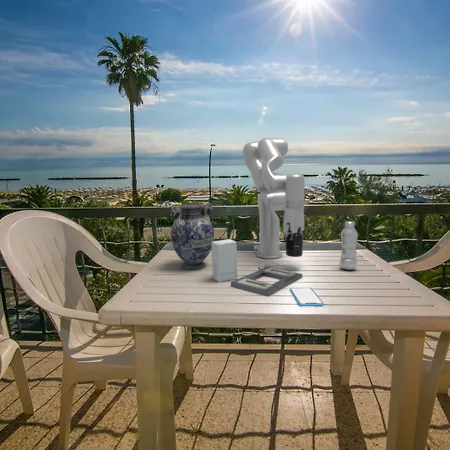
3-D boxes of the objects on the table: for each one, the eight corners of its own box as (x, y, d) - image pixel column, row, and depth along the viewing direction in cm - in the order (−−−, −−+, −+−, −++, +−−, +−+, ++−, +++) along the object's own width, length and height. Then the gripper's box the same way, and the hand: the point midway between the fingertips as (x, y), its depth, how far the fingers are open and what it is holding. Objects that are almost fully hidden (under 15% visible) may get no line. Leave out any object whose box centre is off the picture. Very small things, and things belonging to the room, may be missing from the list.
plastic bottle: (358, 272, 128) (360, 222, 125) (340, 271, 130) (342, 222, 127) (355, 267, 135) (357, 220, 132) (338, 266, 136) (340, 220, 133)
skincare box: (230, 275, 127) (230, 238, 125) (238, 279, 122) (237, 241, 120) (211, 278, 124) (210, 240, 122) (218, 282, 119) (217, 243, 116)
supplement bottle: (293, 258, 128) (293, 228, 126) (282, 254, 134) (282, 226, 132) (306, 255, 131) (306, 227, 129) (295, 252, 137) (295, 225, 135)
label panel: (230, 286, 115) (230, 281, 115) (267, 270, 133) (267, 266, 133) (268, 296, 105) (268, 291, 104) (302, 277, 123) (302, 273, 122)
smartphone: (310, 287, 111) (324, 303, 96) (310, 290, 111) (324, 307, 96) (289, 288, 111) (299, 304, 96) (289, 291, 111) (299, 308, 96)
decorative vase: (184, 276, 127) (181, 206, 123) (162, 266, 141) (158, 203, 137) (225, 265, 140) (224, 202, 136) (201, 258, 155) (199, 200, 150)
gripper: (296, 203, 139) (295, 243, 141) (275, 206, 126) (275, 250, 128) (312, 203, 134) (311, 245, 136) (292, 207, 121) (292, 253, 123)
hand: (294, 247), depth 132 cm, fingers closed on supplement bottle, 6 cm apart
